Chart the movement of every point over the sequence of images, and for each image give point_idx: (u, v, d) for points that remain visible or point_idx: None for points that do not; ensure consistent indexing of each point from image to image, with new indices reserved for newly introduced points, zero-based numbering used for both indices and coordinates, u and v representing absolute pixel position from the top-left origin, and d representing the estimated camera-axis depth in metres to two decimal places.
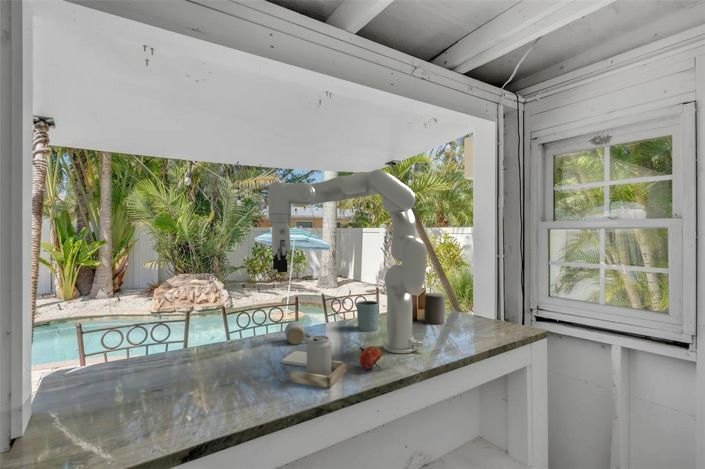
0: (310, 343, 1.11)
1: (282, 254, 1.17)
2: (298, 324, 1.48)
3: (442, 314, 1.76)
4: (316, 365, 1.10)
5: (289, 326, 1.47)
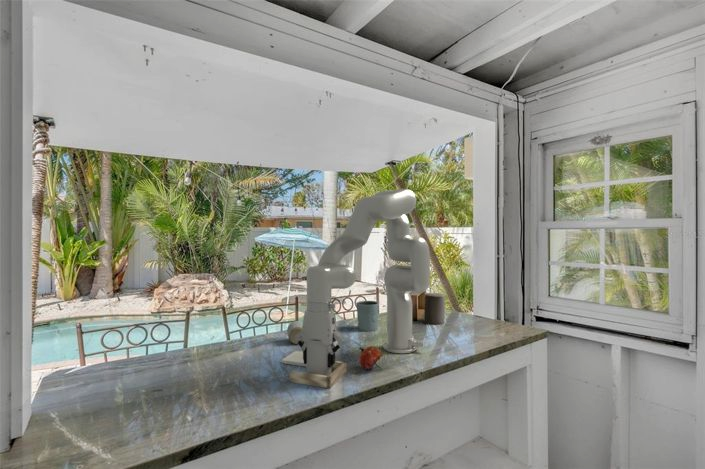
0: (310, 343, 1.11)
1: (339, 347, 1.11)
2: (300, 324, 1.48)
3: (442, 314, 1.76)
4: (316, 365, 1.10)
5: (291, 326, 1.47)
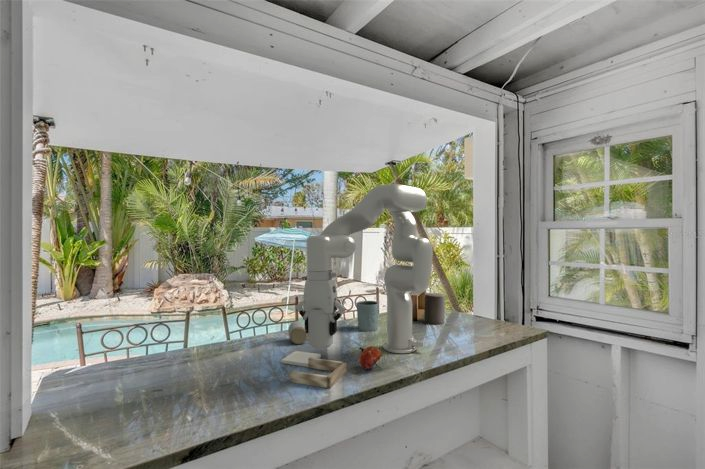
0: (311, 312, 1.11)
1: (340, 315, 1.11)
2: (301, 324, 1.49)
3: (442, 314, 1.76)
4: (317, 334, 1.10)
5: (292, 326, 1.48)
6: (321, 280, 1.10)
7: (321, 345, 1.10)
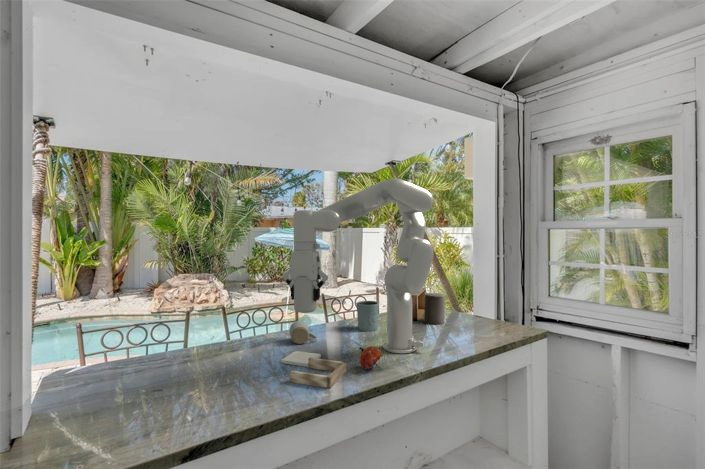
0: (297, 279, 1.22)
1: (323, 282, 1.22)
2: (302, 324, 1.49)
3: (442, 314, 1.76)
4: (302, 299, 1.21)
5: (293, 326, 1.48)
6: (306, 250, 1.21)
7: (305, 309, 1.21)
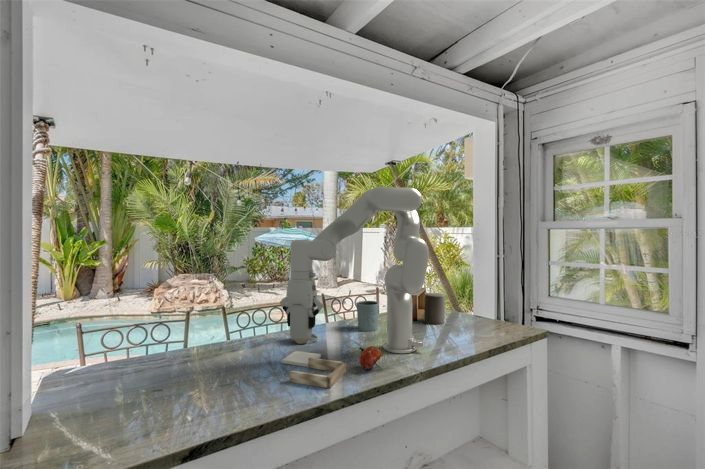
0: (293, 307, 1.26)
1: (318, 311, 1.25)
2: None
3: (442, 314, 1.76)
4: (297, 327, 1.24)
5: None
6: (302, 279, 1.24)
7: (300, 337, 1.24)
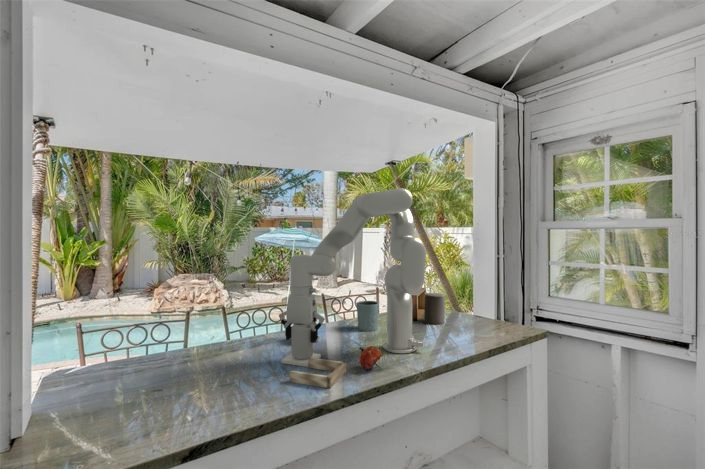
0: (294, 327, 1.26)
1: (320, 325, 1.25)
2: None
3: (442, 314, 1.76)
4: (299, 346, 1.24)
5: None
6: (302, 295, 1.24)
7: (302, 356, 1.24)
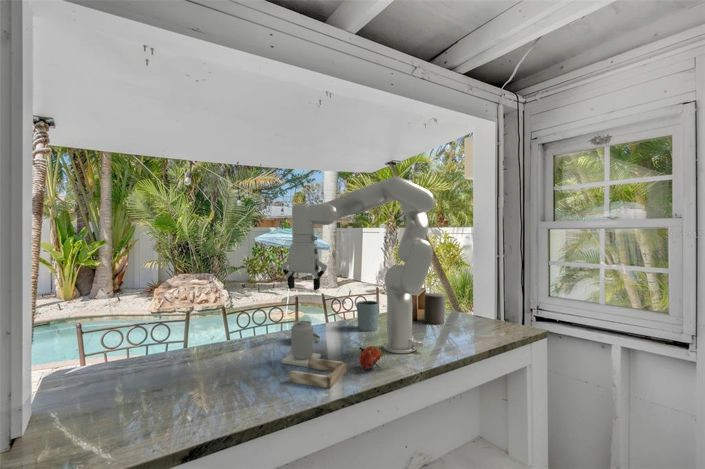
0: (294, 327, 1.26)
1: (323, 272, 1.26)
2: None
3: (442, 314, 1.76)
4: (299, 346, 1.24)
5: None
6: (304, 242, 1.25)
7: (302, 357, 1.24)
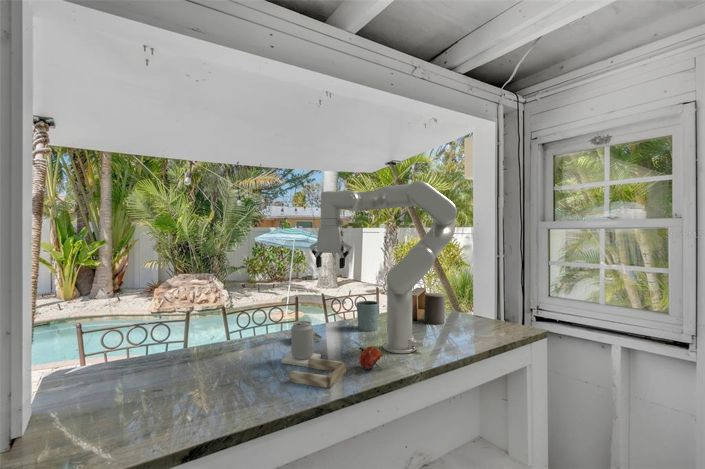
0: (294, 327, 1.26)
1: (348, 252, 1.40)
2: None
3: (442, 314, 1.76)
4: (299, 346, 1.24)
5: None
6: (332, 225, 1.40)
7: (302, 357, 1.24)
